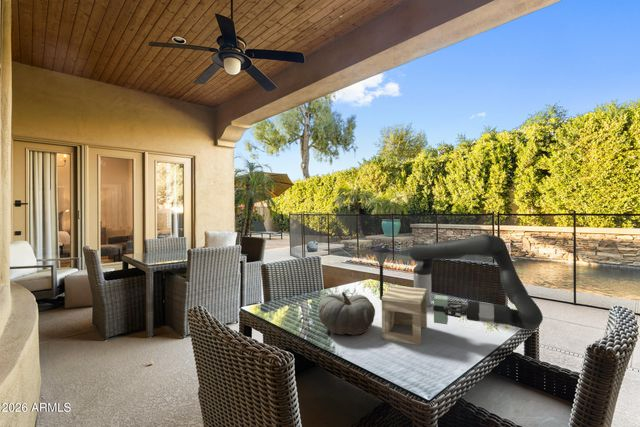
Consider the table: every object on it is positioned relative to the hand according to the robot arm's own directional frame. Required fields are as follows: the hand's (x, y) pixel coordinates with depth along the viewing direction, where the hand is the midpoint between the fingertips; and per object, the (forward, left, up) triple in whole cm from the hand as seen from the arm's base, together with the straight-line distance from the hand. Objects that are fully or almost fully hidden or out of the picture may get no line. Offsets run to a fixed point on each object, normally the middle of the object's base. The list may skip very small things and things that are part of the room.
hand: (434, 306), depth 131 cm
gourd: (+6, -36, -13) cm, 39 cm away
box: (0, -11, -13) cm, 17 cm away
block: (0, +3, -6) cm, 7 cm away
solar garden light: (-44, -33, -13) cm, 56 cm away
